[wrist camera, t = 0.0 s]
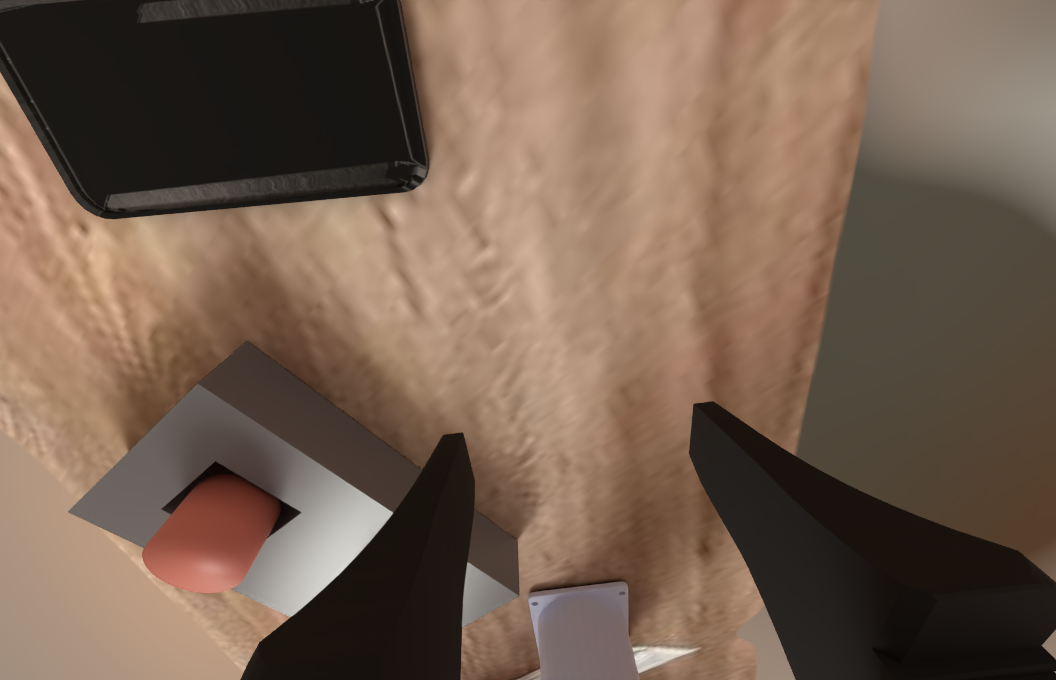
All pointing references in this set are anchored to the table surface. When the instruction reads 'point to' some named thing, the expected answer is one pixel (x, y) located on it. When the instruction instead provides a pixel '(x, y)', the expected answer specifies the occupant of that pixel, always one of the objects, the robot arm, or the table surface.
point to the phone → (216, 100)
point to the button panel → (284, 484)
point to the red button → (213, 535)
